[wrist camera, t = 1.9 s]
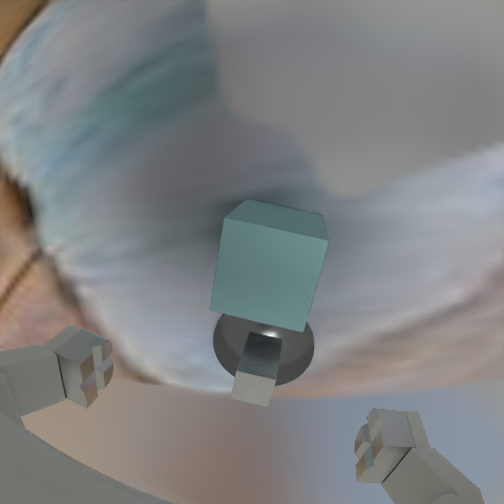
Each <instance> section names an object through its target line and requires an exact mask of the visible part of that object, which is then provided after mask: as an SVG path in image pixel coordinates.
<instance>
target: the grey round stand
mask: <svg viewBox="0 0 504 504" xmlns="http://www.w3.org/2000/svg"><path fill="white" fill-rule="evenodd" d="M213 345H214V350H215V354H216V356H217V358H218V360H219V362H220V363H221V365H222V366H223V367H224V368H225V369H226V370H227V371H228V372H229V373H230V374H231V375H233V376H234V377H235V380H234V385H233V389H232V394H231V398H233V399H237V400H241V401H245V402H249V403H253V404H258V405H262V406H266V407H267V406H268V404H269V401H270V398H271V395H272V392H273V389H274V386H277V385H282V384H285V383H288V382H290V381H292V380H294V379H296V378H297V377H299V376H300V375H301V374H302V373H303V372H304V371H305V370H306V369H307V368H308V366H309V365H310V362H311V360H312V357H313V352H314V339H313V334H312V331H311V329H310V327H309V325H308V323H307V322H306V324H305V328H304V331H303V332H300V331H295V330H291V329H286V328H282V327H277V326H273V325H269V324H264V323H260V322H256V321H252V320H248V319H244V318H239V317H235V316H231V315H227V314H224V315H223V317H222V318H221V319H220V321H219V323H218V325H217V327H216V329H215V332H214V337H213Z"/></svg>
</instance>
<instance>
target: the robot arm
mask: <svg viewBox="0 0 504 504" xmlns="http://www.w3.org/2000/svg"><path fill="white" fill-rule="evenodd" d="M112 352H113V350H112V343H111V342H110V341H109V340H108V339H105V338H103V337H101V336H98V335H96V334H94V333H92V332H89V331H87V330H84V329H82V328H80V327H78V326H76V325H69V326H67V327H66V328H65V329H63V330H62V331H61V332H59V333H58V334H57V335H55V336H54V337H53V338H52V339H50V340H49V341H48V342H46V343H45V344H44V345H43V346H40V345H33V346H28V347H22V348H16V349H11V350H5V351H0V504H177V503H174V502H171V501H168V500H165V499H162V498H159V497H157V496H154V495H151V494H149V493H146V492H143V491H141V490H139V489H136V488H134V487H131V486H129V485H126V484H124V483H122V482H120V481H118V480H115V479H113V478H111V477H109V476H107V475H105V474H102V473H101V472H99V471H97V470H95V469H92V468H91V467H89V466H87V465H85V464H83V463H81V462H79V461H78V460H76V459H74V458H72V457H70V456H68V455H67V454H65V453H63V452H62V451H60V450H58V449H56V448H55V447H53V446H51V445H50V444H48V443H47V442H45V441H44V440H42V439H40V438H39V437H37V436H36V435H34V434H33V433H31V432H30V431H28V430H27V429H26V428H25V426H24V423H23V421H22V418H21V417H22V416H25V415H27V414H30V413H33V412H35V411H38V410H41V409H43V408H46V407H48V406H51V405H53V404H56V403H59V402H61V401H64V400H65V399H66V398H67V399H69V400H71V401H73V402H75V403H77V404H79V405H81V406H83V407H85V408H88V407H89V406H90V405H91V404H92V403H93V402H94V400H95V399H96V398H97V397H98V393H97V392H98V391H97V390H100V389H104V388H105V387H106V386H107V385H108V384H109V382H110V380H111V378H112V375H113V369H114V366H113V361H112V359H111V358H110V356H109V355H110V354H111V353H112ZM367 420H368V423H367V424H365V425H364V426H362V427H361V428H360V430H359V432H358V434H357V437H356V440H355V448H354V449H355V455H356V456H357V457H358V459H359V461H358V463H357V464H356V477H357V482H367V483H381V484H382V486H383V488H384V489H385V490H386V492H387V493H388V495H389V496H390V498H391V499H392V500H393V502H394V503H395V504H484V501H483V497H482V494H481V491H480V489H479V488H478V487H477V486H476V485H475V484H474V483H472V482H471V481H470V480H469V479H468V478H467V477H466V476H465V475H463V474H462V473H461V472H460V471H459V470H458V469H456V468H455V467H454V466H453V465H452V464H451V463H450V462H449V461H448V460H447V459H446V458H444V457H443V456H442V455H441V454H440V453H439V452H438V451H437V450H436V449H434V448H430V445H429V442H428V439H427V436H426V433H425V430H424V426H423V423H422V420H421V417H420V414H419V413H418V412H412V411H395V410H386V409H385V410H384V409H376V408H373V409H372V410H371V411H370V413H369V415H368V416H367Z"/></svg>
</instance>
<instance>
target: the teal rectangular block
mask: <svg viewBox="0 0 504 504" xmlns="http://www.w3.org/2000/svg"><path fill="white" fill-rule="evenodd" d="M328 243H329V240H328V236H327V232H326V228H325V224H324V220H323V216H322V215H319V214H315V213H310V212H306V211H302V210H297V209H293V208H288V207H284V206H279V205H275V204H270V203H265V202H261V201H256V200H251V199H246V200H245V201H244V202H243V203H242V204H240V205H239V206H238V207H237V208H235V209H234V210H233V211H232V212H230V213H229V214H228V215H227V216H225V217H224V221H223V227H222V233H221V239H220V246H219V252H218V258H217V265H216V271H215V278H214V285H213V291H212V298H211V305H210V310H212V311H216V312H220V313H224V314H227V315H231V316H235V317H239V318H244V319H248V320H252V321H256V322H260V323H264V324H269V325H273V326H277V327H282V328H286V329H291V330H295V331H300V332H303V331H304V328H305V324H306V321H307V318H308V314H309V311H310V308H311V304H312V301H313V297H314V294H315V290H316V287H317V283H318V280H319V276H320V273H321V269H322V265H323V262H324V258H325V254H326V250H327V247H328Z"/></svg>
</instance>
